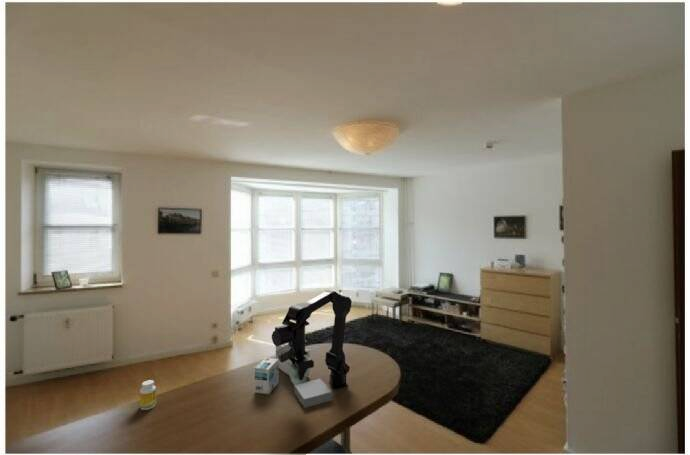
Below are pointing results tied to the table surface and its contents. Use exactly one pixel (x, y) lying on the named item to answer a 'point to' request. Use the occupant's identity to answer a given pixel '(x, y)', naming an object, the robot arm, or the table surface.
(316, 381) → the grey square block
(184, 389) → the table surface
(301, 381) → the teal block
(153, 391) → the supplement bottle
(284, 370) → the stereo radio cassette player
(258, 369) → the light bulb box
